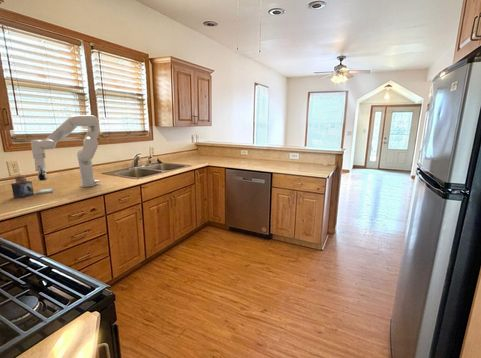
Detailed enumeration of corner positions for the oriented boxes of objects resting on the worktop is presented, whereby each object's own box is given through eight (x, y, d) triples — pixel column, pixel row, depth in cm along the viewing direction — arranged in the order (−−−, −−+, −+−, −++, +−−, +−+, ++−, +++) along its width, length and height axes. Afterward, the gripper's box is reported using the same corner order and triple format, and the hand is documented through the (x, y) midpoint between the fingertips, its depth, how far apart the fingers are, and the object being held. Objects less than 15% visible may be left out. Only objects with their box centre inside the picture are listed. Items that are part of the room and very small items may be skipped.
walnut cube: (26, 181, 195) (25, 174, 194) (24, 182, 191) (23, 176, 189) (18, 182, 193) (16, 175, 192) (16, 183, 188) (14, 176, 187)
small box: (19, 198, 188) (17, 184, 186) (13, 197, 190) (10, 183, 188) (34, 194, 198) (32, 181, 196) (28, 193, 200) (25, 180, 197)
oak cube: (47, 179, 206) (46, 172, 205) (46, 180, 202) (45, 174, 201) (39, 179, 204) (38, 173, 203) (38, 180, 200) (37, 174, 199)
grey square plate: (54, 189, 212) (54, 188, 212) (52, 192, 203) (51, 191, 203) (39, 190, 208) (39, 189, 207) (36, 194, 199) (36, 192, 199)
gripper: (36, 155, 205) (39, 177, 209) (30, 157, 190) (34, 182, 194) (47, 154, 208) (51, 176, 212) (42, 157, 193) (46, 181, 197)
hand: (43, 179), depth 203 cm, fingers closed on oak cube, 5 cm apart
